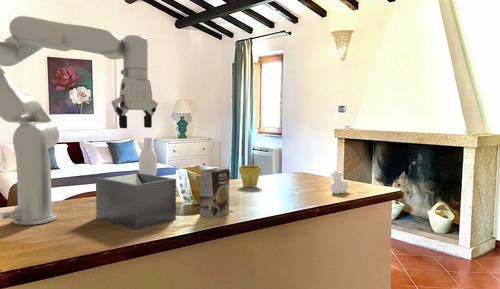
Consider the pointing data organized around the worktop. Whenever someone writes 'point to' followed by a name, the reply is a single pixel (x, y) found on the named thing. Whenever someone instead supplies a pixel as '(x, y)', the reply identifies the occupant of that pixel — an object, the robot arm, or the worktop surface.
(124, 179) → the trapdoor
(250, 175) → the plant pot
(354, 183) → the worktop surface
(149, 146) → the water bottle
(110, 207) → the bin
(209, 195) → the coffee box
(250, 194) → the worktop surface
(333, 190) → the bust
